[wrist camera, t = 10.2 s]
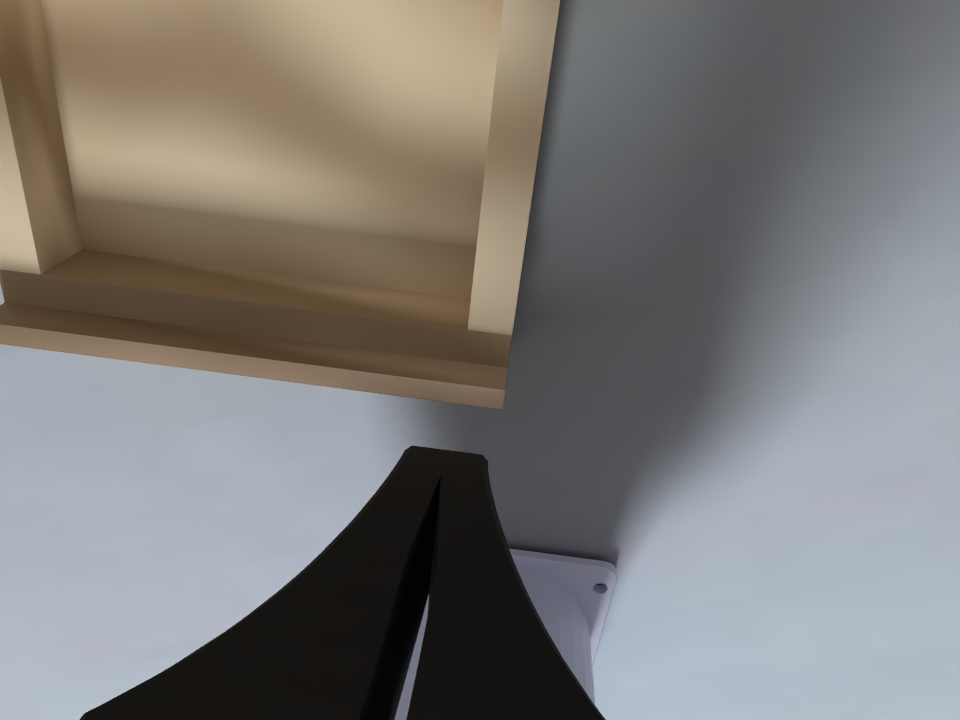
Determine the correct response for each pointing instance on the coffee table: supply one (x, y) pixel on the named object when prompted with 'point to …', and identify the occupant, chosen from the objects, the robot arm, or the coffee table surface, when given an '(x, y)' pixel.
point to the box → (273, 185)
